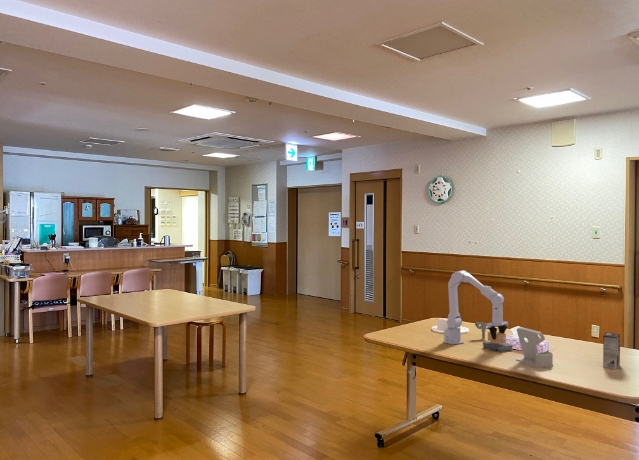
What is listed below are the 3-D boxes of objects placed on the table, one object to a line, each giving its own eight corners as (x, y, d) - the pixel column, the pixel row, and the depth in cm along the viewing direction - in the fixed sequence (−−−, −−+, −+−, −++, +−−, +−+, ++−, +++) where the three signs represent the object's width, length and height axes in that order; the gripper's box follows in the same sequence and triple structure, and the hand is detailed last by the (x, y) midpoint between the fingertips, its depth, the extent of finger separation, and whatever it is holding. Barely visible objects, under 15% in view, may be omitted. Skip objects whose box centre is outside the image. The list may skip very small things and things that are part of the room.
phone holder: (555, 365, 254) (555, 330, 254) (541, 368, 250) (541, 332, 250) (528, 357, 270) (528, 324, 270) (514, 359, 266) (514, 326, 265)
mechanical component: (492, 339, 312) (492, 323, 312) (475, 339, 312) (475, 323, 312) (490, 337, 315) (490, 322, 315) (474, 337, 315) (474, 322, 315)
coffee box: (606, 363, 258) (606, 332, 258) (620, 365, 254) (620, 333, 254) (602, 367, 251) (602, 335, 251) (617, 369, 247) (617, 337, 247)
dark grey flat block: (498, 352, 280) (498, 347, 280) (482, 347, 291) (482, 342, 291) (512, 350, 285) (512, 345, 285) (497, 345, 296) (497, 340, 296)
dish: (473, 329, 342) (473, 312, 342) (463, 336, 320) (463, 318, 320) (438, 325, 355) (438, 309, 354) (426, 332, 333) (426, 315, 333)
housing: (487, 340, 291) (487, 331, 291) (494, 339, 294) (494, 330, 294) (501, 344, 282) (501, 335, 282) (507, 343, 284) (507, 334, 284)
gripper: (493, 317, 281) (493, 341, 281) (512, 315, 287) (512, 338, 287) (484, 315, 287) (484, 338, 288) (502, 313, 293) (503, 336, 294)
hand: (497, 338), depth 288 cm, fingers closed on housing, 5 cm apart
